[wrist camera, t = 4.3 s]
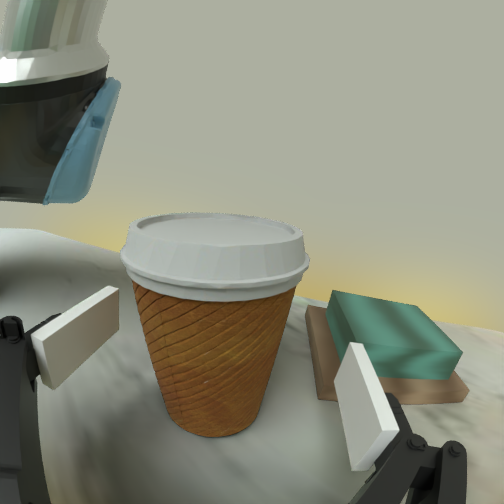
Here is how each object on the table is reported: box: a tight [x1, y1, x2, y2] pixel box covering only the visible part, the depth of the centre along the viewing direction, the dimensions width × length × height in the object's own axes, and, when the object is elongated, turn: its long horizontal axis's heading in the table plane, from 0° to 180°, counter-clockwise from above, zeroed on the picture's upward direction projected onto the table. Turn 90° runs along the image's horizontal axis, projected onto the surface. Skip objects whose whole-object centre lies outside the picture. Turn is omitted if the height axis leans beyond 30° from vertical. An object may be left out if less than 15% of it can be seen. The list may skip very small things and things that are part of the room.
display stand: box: [305, 290, 469, 404], centre depth 26 cm, size 16×16×5 cm
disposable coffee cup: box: [120, 213, 310, 437], centre depth 16 cm, size 10×10×12 cm
